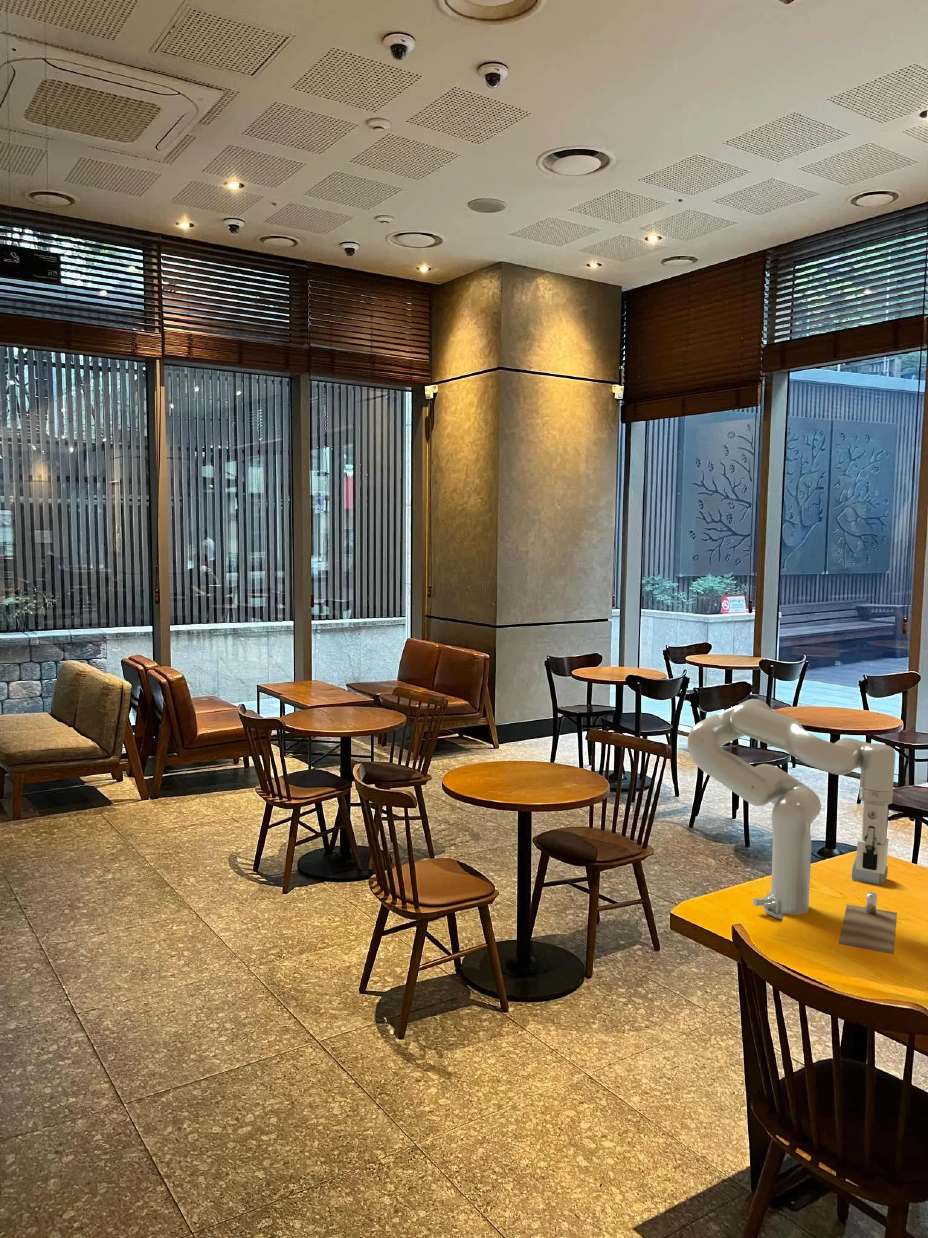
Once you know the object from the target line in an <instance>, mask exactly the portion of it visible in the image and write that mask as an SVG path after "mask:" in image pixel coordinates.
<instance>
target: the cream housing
mask: <svg viewBox="0 0 928 1238" xmlns="http://www.w3.org/2000/svg"><path fill="white" fill-rule="evenodd" d="M873 841H875V842H876V840H875V839H873ZM856 845H857V846H856V856H857V858H856V857H855V858H856V869H860V870H865V871H870V872H876V873H881V874H884V872H885V869H886V866H887V867H888V850H889V838H887V837H886V839H885V841H884V843H883V844H880V843H878V844H877V853H876V854H878V857H877V869H876V870H870V869H865V868H863V867H862V865H863V852H864V847H865V841H863V839H862V833H861V834H860V835H859V837H858V840H857V844H856ZM873 846H875V844H873Z"/></svg>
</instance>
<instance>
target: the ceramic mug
mask: <svg viewBox="0 0 928 1238" xmlns="http://www.w3.org/2000/svg"><path fill="white" fill-rule="evenodd" d="M856 858H857V855H855V858H854V860H853V863H852V869H851V880H852V881H853V882H864V883H869V884H873V885H877V886H878V885H879V886H882V885H883V884H884V883H885V882H886V881H887V879H888V871H889V870H888V869H889V868H888V865H887V866H886V869H885V872H884V874H881V873H876V872H870V871H865V870H860V869H856Z"/></svg>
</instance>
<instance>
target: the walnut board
mask: <svg viewBox="0 0 928 1238" xmlns="http://www.w3.org/2000/svg"><path fill="white" fill-rule="evenodd" d="M897 914H898V912H895V911H889V910H883V909H877V908H876V914H874V915H872V914H868V913H866V906H859V905H854V904H846V906H845V911H844V916H843V921H842V925H841V931H840V936H839V941H838V945H843V946H848V947H849V946H850V947H854V948H859V949H865V950H871V951H875V952H881V953H886V954H891V955H894V954H895V952H894V951H895V943H896V942H895V940H896V929H897V928H896V927H897Z"/></svg>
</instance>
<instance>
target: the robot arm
mask: <svg viewBox="0 0 928 1238" xmlns="http://www.w3.org/2000/svg"><path fill="white" fill-rule="evenodd" d="M742 737H749V738H751V739H754V740H756V741H759V742H762V743H765V744H768V745H770V746H773V747H775V748H777V749H780V750H783V751H785V752H786V753H787V754H789V755H791V756H792V757H794V758H796V759H797V760H798V761H800V762H802V763H804V764H806V765H807V766H810V767H813V768H815V769H818V770H821V771H824V772H827V773H829V774H833V775H838V776H841V775H842V776H843V775H848V774H850V773H852V771H854V770H855V769H860V779H859V792H858V798H859V800H860V801H862V802H863V806H862V807H863V808H862V809H863V810H862V811H863V812H862V828H861V829H862V831H861V834H862V839H863V841H865V847H864V852H863V865H862V867H863V868H865V869H870V870H876V869H877V857H878V854H876V853H877V844H878V843H880V844H883V843H884V841H885V839H886V838H887V836H888V834H887V833H888V815H889V812H888V811H889V805H891V804H892V803H893V793H894V779H895V765H896V763H895V762H896V752H895V749H894V748H893V747H892V746H890V745H887V744H883V743H882V744H881V743H870V742H865V741H862V740H859V739H855V738H851V737H843V738H840V739H839V740H837V741H835V742H831V741H828V740H825V739H822V738H821V737H817V736H815V735H813V734H811V733H809V732H808V731H807V730H806V729H805V728H804V727H803V725H802V724H801V723H800V721H798V720H797V719H796V718H794V717H792V716H791V717H790V716H787V715H785V714H782V713H778V712H775V711H774V710H771V708H770V706H769V705H768V704H767V703H766V702H765V701H763V700H761V699H756V698H750V699H747V700H745V701H743V702H741V703H739V704H737V705H734V706H732V707H730V708H727V709H724V710H722V711H721V712H718V713H715V714H712V715H711V716H709V717H706V718H705V719H703V720H701V721H699V722H697V723H696V724H694V725H693V727H692V728H691V730H690V731H689V734H688V736H687V749H688V752H689V755H690V758H691V760H692V761H693V763H694V764H695V766H697V767H698V768H699V769H700V770H701V771H702V772H704V773H706V775H708V776H709V777H711V778H713V779H714V780H715V781H717V782H719V783H720V784H722V785H723V786H724V787H725V788H727V789H728V790H730V791H731V792H733V793H734V794H735V795H737V796H739V797H740V798H741V799H743V800H744V801H745V802H747V803H748V804H751V805H752V806H755V807H763V806H766V805H767V804H769V803H771V804H773V805H774V806H773V808H772V812H771V827H772V828H771V830H772V848H771V849H772V853H771V855H772V857H771V858H772V860H771V861H772V862H771V881H770V882H771V884H770V886H771V887H770V892H767V893H766V896H764V897H763V898H760V897H759V898H757V897H756V898H753V899H752V903H753V906H754V907H762V909H764V911H765V912H766V914H768V915H769V916H771V917H773V918H775V919H778V920H784V916H785V914H786V915H795V916H796V915H797V916H798V915H799V916H800V915H804V914H805V915H806V914H807V913H808V912H809V910H810V909H809V907H810V890H811V889H810V887H811V886H810V885H811V884H810V883H811V865H812V864H811V863H812V834H811V826H812V823H814V821H815V820H816V819H817V818H818V816H819V815H820V813H821V810H822V803H821V800H820V798H819V796H818V794H817V793H816V792H815V791H814V790H813V789H811V787H809V786H807V785H806V784H804V783H803V782H801V781H800V780H798V779H796V778H795V777H794V776H792V775H791V774H789V773H788V772H786V771H784V770H783V769H781V768H779V767H777V766H775V765H773V764H767V763H761V764H757V765H756V766H754V765H751V764H749V763H748V762H747V761H745V760H743V759H742V758H741V757H739V756H737V755H736V754H734V753H731V752H729V751H727V750H725V749H724V748H723V746H724V745H726V744H728V743H730V742H732V741H735V740H737V739H740V738H742ZM873 839H875V840H876V842H875V841H873ZM873 844H875V846H873Z"/></svg>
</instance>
